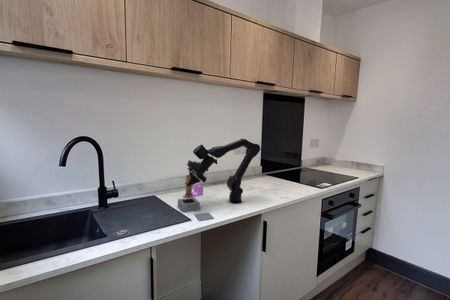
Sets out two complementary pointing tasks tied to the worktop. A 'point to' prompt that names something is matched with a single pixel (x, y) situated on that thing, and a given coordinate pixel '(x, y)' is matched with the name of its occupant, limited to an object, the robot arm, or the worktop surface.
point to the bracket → (196, 190)
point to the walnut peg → (188, 189)
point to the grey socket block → (188, 204)
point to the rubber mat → (204, 216)
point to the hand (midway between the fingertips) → (186, 185)
